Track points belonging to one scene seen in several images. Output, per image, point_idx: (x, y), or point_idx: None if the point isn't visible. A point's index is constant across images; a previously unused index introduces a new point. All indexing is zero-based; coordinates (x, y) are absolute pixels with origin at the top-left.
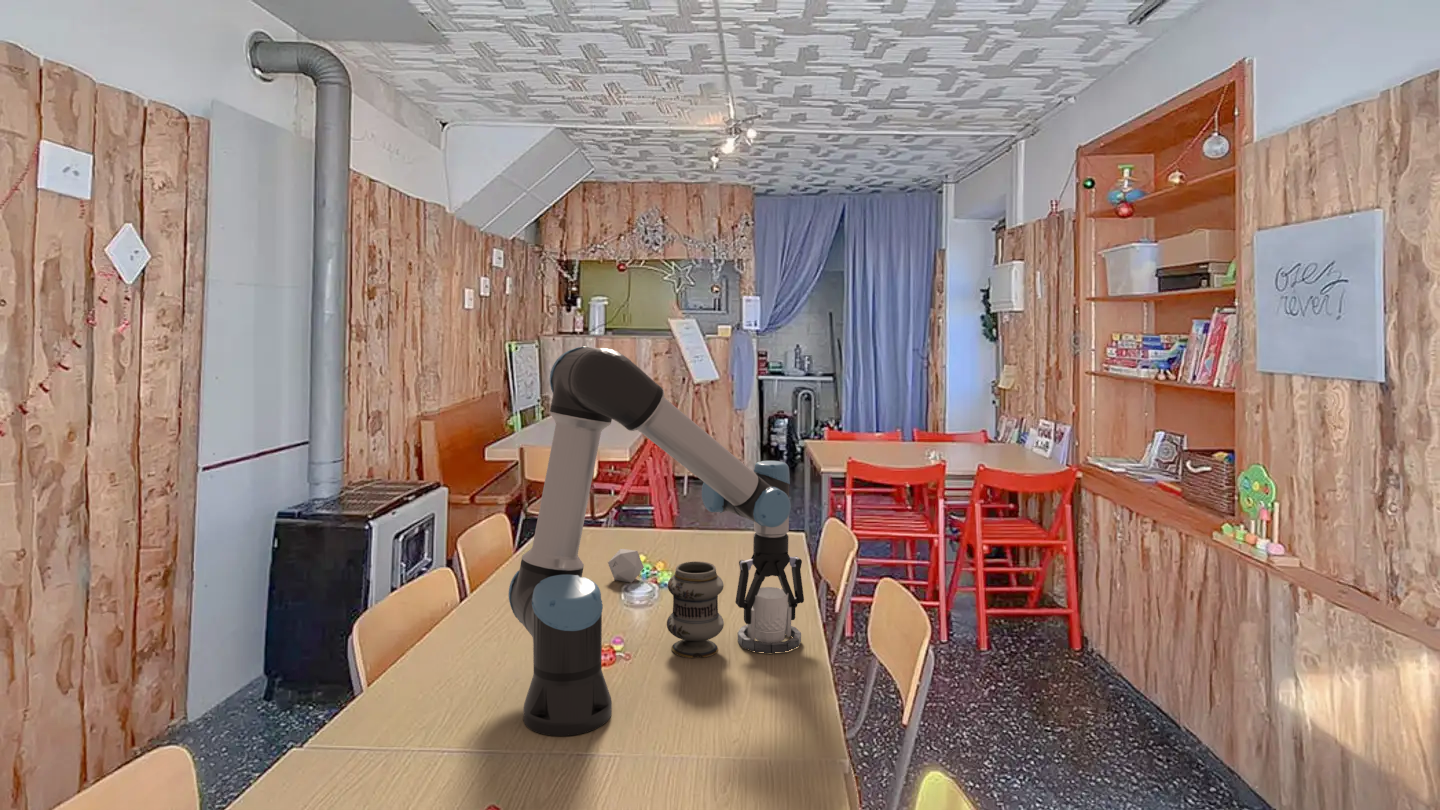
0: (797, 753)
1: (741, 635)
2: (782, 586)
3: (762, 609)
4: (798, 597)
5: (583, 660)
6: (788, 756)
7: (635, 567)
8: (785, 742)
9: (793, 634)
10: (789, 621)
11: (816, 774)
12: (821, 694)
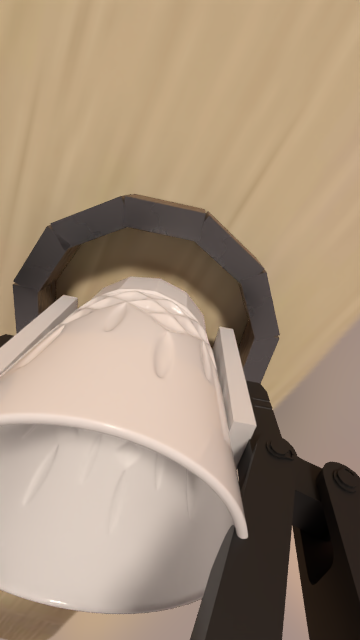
0: (20, 609)
1: (21, 317)
2: (206, 612)
3: (30, 483)
4: (296, 548)
5: None
6: (8, 609)
7: None
8: (13, 596)
9: (242, 356)
10: None
11: (28, 629)
12: None
